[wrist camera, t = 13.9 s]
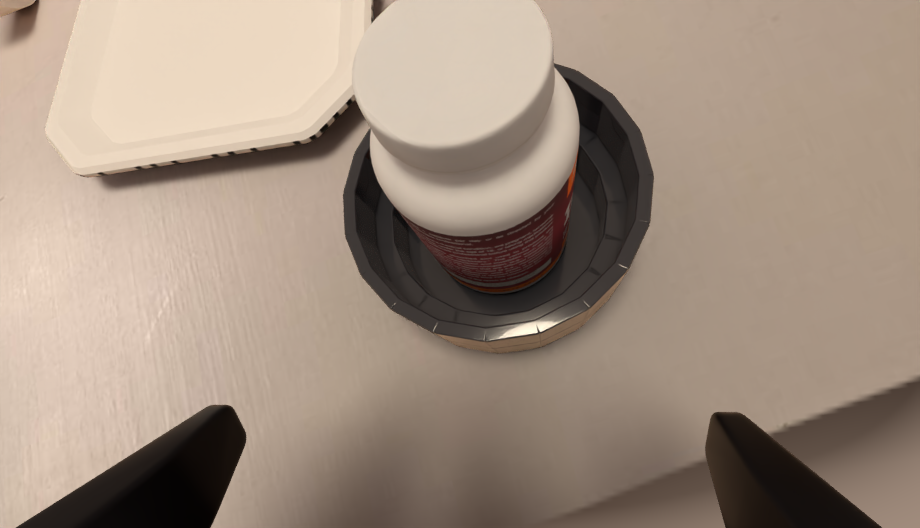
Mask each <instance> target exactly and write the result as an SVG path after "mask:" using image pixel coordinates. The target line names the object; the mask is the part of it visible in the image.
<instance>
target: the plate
mask: <svg viewBox="0 0 920 528" xmlns="http://www.w3.org/2000/svg"><path fill="white" fill-rule="evenodd" d="M372 22H373V0H81V2H80V6H79V9H78V13H77V16H76V20H75V24H74V27H73V31H72V34H71V38H70V41H69V45H68V48H67V52H66V55H65V59H64V62H63V66H62V70H61V73H60V77H59V80H58V84H57V87H56V91H55V94H54V98H53V101H52V105H51V108H50V112H49V116H48V119H47V123H46V126H45V129H46V136H47V140H48V141H49V143H50V144H51V145H52V146H53V148H54V149H55V150H56V151H57V153H58V154H59V155H60V156H61V158H62V159H63V160H64V161H65V163H66V164H67V165H68V166H69V168H70V169H71V170H72V171H73V173H75V174H77V175H80V176H83V177H95V176H101V175H108V174H114V173H120V172H127V171H133V170H139V169H146V168H152V167H158V166H165V165H171V164H177V163H184V162H190V161H196V160H203V159H209V158H215V157H222V156H228V155H234V154H241V153H247V152H253V151H260V150H266V149H272V148H279V147H285V146H292V145H298V144H304V143H309V142H311V141H312V140H314V139H316V138H318V137H320V136H321V134H322V133H323V132H324V131H325V130H326V129H327V128H328V127H329V126H330V125H331V124H332V123H333V122H334V121H335V120H336V119H337V118H338V117H339V116H340V115H341V114H342V113H343V112H344V111H345V110H346V109H347V108H348V107H349V105H350V104H351V103H352V102H353V101H354V100H355V99H356V98H355V95H354V91H353V85H352V67H353V61H354V57H355V54H356V51H357V48H358V46H359V43H360V41H361V39H362V37H363V35H364V34H365V32H366V31H367V29H368V28H369V26H370V25H371V23H372Z"/></svg>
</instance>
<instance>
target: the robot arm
mask: <svg viewBox="0 0 920 528" xmlns="http://www.w3.org/2000/svg"><path fill="white" fill-rule="evenodd" d="M245 443H246V432H245V430H244V428H243V426H242V424H241V422H240V420H239V418H238V416H237V414H236V412H235V410H234V409H233V408H232V407H231V406H229V405H211V406H208V407H206V408H204V409H203V410H201V411H200V412H198V413H197V414H195V415H193V416H192V417H190V418H189V419H187V420H185V421H184V422H182V423H181V424H179V425H178V426H176V427H174V428H173V429H171V430H170V431H168V432H166V433H165V434H163V435H162V436H160V437H159V438H157V439H155V440H154V441H152V442H151V443H149V444H147V445H146V446H144V447H143V448H141V449H140V450H138V451H136V452H135V453H133V454H132V455H130V456H128V457H127V458H125V459H124V460H122V461H121V462H119V463H117V464H116V465H114V466H113V467H111V468H109V469H108V470H106V471H105V472H103V473H102V474H100V475H98V476H97V477H95V478H94V479H92V480H91V481H89V482H87V483H86V484H84V485H83V486H81V487H79V488H78V489H76V490H75V491H73V492H72V493H70V494H68V495H67V496H65V497H64V498H62V499H60V500H59V501H57V502H56V503H54V504H53V505H51V506H49V507H48V508H46V509H45V510H43V511H41V512H40V513H38V514H37V515H35V516H34V517H32V518H30V519H29V520H27V521H26V522H24V523H22V524H21V525H19V526H18V527H16V528H210V527H211V525H212V523H213V521H214V519H215V517H216V514H217V512H218V510H219V508H220V505H221V503H222V500H223V498H224V495H225V493H226V490H227V488H228V486H229V483H230V481H231V478H232V476H233V473H234V471H235V468H236V466H237V464H238V461H239V459H240V456H241V454H242V451H243V449H244V446H245ZM705 452H706V459H707V463H708V466H709V470H710V473H711V477H712V481H713V484H714V487H715V491H716V495H717V498H718V502H719V505H720V509H721V513H722V516H723V520H724V523H725V527H726V528H882V527H881V526H879V525H878V524H877V523H876V522H875V521H873V520H872V519H871V518H870V517H868V516H867V515H866V514H865V513H864V512H862V511H861V510H860V509H859V508H857V507H856V506H855V505H854V504H852V503H851V502H850V501H849V500H848V499H846V498H845V497H844V496H843V495H841V494H840V493H839V492H837V490H835V489H834V488H833V487H832V486H830V485H829V484H828V483H827V482H826V481H824V480H823V479H822V478H821V477H819V476H818V475H817V474H816V473H815V472H813V471H812V470H811V469H810V468H808V467H807V466H806V465H805V464H803V463H802V462H801V461H800V460H799V459H797V458H796V457H795V456H794V455H793V454H791V453H790V452H789V451H788V450H786V449H785V448H784V447H783V446H782V445H780V444H779V443H778V442H777V441H775V440H774V439H773V438H772V437H771V436H769V435H768V434H767V433H766V432H764V431H763V430H762V429H761V428H759V427H758V426H757V425H756V424H755V423H753V422H752V421H751V420H750V419H748V418H747V417H746V416H745V415H743V414H741V413H737V412H715V413H714V414H713V415H712V416H711V419H710V424H709V429H708V435H707V440H706V445H705Z"/></svg>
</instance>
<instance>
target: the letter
mask: <svg viewBox="0 0 920 528" xmlns="http://www.w3.org/2000/svg"><path fill="white" fill-rule="evenodd" d="M35 1H36V0H0V17H2V16H5V15H8V14H10V13H12V12H15V11H17V10H20V9H22V8H25V7H27V6H30V5H32V4H33V3H34V2H35Z"/></svg>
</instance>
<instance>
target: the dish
mask: <svg viewBox="0 0 920 528" xmlns="http://www.w3.org/2000/svg"><path fill="white" fill-rule="evenodd" d="M554 67H555V68H556V70H557V71H558V72H559V73H560V74H561V76H562V77H563V78H564V80H565V81H566V83H567V84H568V86H569V88H570V90H571V92H572V94H573V97H574V99H575V103H576V106H577V111H578V115H579V124H580V129H579V148H578V154H577V163H576V171H575V180H574V189H573V195H572V203H571V211H570V220H569V229H568V235H567V240H566V244H565V247H564V250H563V252H562V254H561V256H560V258H559V260H558V261H557V263H556V264H555V266H554V267H553V268H552V269H551V271H550V272H549V273H548V274H547V275H546V276H544V277H543V278H542V279H541V280H539V281H538V282H536V283H535V284H533V285H531V286H529V287H527V288H525V289H522V290H519V291H516V292H511V293H505V294H490V293H483V292H479V291H475V290H473V289H470V288H468V287H466V286H464V285H463V284H461V283H459V282H458V281H457V280H455V279H454V278H453V277H452V276H451V275H450V274H448V273H447V272H446V271H445V270H444V269H443V267H442V266H441V265H440V264H439V262H438V261H437V260H436V259H435V257H434V256H433V255H432V254H431V252H430V251H429V250H428V249H427V247H426V246H425V245H424V243H423V242H422V241H421V240H420V238H419V237H418V236H417V234H416V233H415V232H414V231H413V230H412V228H411V227H410V226H409V224H408V223H407V222H406V221H405V220H404V218H403V217H402V216H401V214H400V213H399V212H398V211H397V210H396V208H395V207H394V206H393V204H392V203H391V202H390V200H389V199H388V197H387V196H386V194H385V193H384V191H383V189H382V188H381V186H380V184H379V182H378V180H377V178H376V175H375V173H374V169H373V166H372V161H371V156H370V133H371V128H370V129H369V130H368V132H367V133H366V135H365V137H364V138H363V140H362V141H361V143H360V145H359V146H358V148H357V149H356V151H355V154H354V156H353V160H352V163H351V167H350V170H349V174H348V178H347V181H346V185H345V188H344V194H343V202H344V225H345V235H346V236H345V237H346V240H347V242H348V245H349V247H350V250H351V252H352V255H353V257H354V260H355V262H356V265H357V267H358V270H359V272H360V275H361V276H362V278H363V279H364V280H365V281H366V282H367V283H368V285H369V286H370V287H371V288H372V289H373V290H374V291H375V292H376V294H377V295H378V296H379V297H380V298H381V299H382V300H383V301H384V303H385V304H386V305H387V306H388V307H389V308H390V309H391V310H392V311H394V312H396V313H397V314H399V315H401V316H403V317H405V318H406V319H408V320H410V321H412V322H414V323H416V324H417V325H419V326H421V327H423V328H425V329H426V330H428V331H430V332H432V333H434V334H436V335H438V336H439V337H441V338H443V339H445V340H447V341H449V342H451V343H453V344H455V345H456V346H459V347H464V348H470V349H475V350H481V351H486V352H492V353H507V352H514V351H521V350H528V349H534V348H540V347H543V346H545V345H547V344H549V343H551V342H553V341H555V340H557V339H559V338H561V337H563V336H565V335H567V334H569V333H571V332H573V331H575V330H577V329H579V328H580V327H582V326H583V325H584V324H585V323H586V322H587V321H588V320H589V319H590V318H591V317H592V316H593V315H594V314H595V313H596V312H597V311H598V310H599V309H600V308H601V307H602V306H603V305H604V304H605V303H606V302H607V301H608V300H609V298H610V297H611V295H612V294H613V292H614V291H615V289H616V288H617V286H618V285H619V283H620V282H621V280H622V279H623V277H624V276H625V274H626V273H627V271H628V270H629V268H630V266H631V263H632V261H633V259H634V257H635V255H636V253H637V251H638V249H639V247H640V244H641V242H642V240H643V238H644V236H645V234H646V232H647V230H648V227H649V224H650V219H651V207H652V195H653V182H654V176H653V170H652V167H651V163H650V160H649V157H648V153H647V150H646V147H645V143H644V140H643V137H642V133H641V131H640V129H639V128H638V126H637V125H636V124H635V122H634V121H633V120H632V118H631V117H630V116H629V114H628V113H627V112H626V110H625V109H624V108H623V107H622V105H621V104H620V103H619V101H618V100H617V99H616V97H615V96H614V95H613V94H612V93H610V92H609V91H607V90H606V89H604V88H603V87H601V86H600V85H598V84H597V83H595V82H594V81H592V80H591V79H589V78H588V77H586V76H585V75H583V74H582V73H580V72H579V71H576V70H575V69H571V68H568V67H565V66H561V65H558V64H555V63H554Z"/></svg>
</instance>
